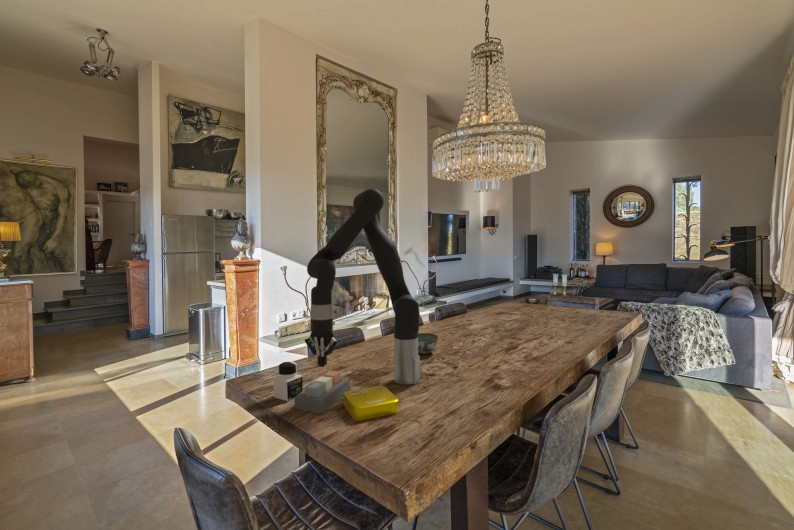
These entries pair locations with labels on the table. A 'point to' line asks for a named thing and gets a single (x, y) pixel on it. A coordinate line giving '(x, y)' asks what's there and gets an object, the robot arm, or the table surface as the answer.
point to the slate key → (314, 390)
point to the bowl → (426, 343)
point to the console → (322, 398)
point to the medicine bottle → (287, 382)
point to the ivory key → (325, 382)
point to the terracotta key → (333, 376)
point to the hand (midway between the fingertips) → (322, 366)
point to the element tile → (370, 402)
